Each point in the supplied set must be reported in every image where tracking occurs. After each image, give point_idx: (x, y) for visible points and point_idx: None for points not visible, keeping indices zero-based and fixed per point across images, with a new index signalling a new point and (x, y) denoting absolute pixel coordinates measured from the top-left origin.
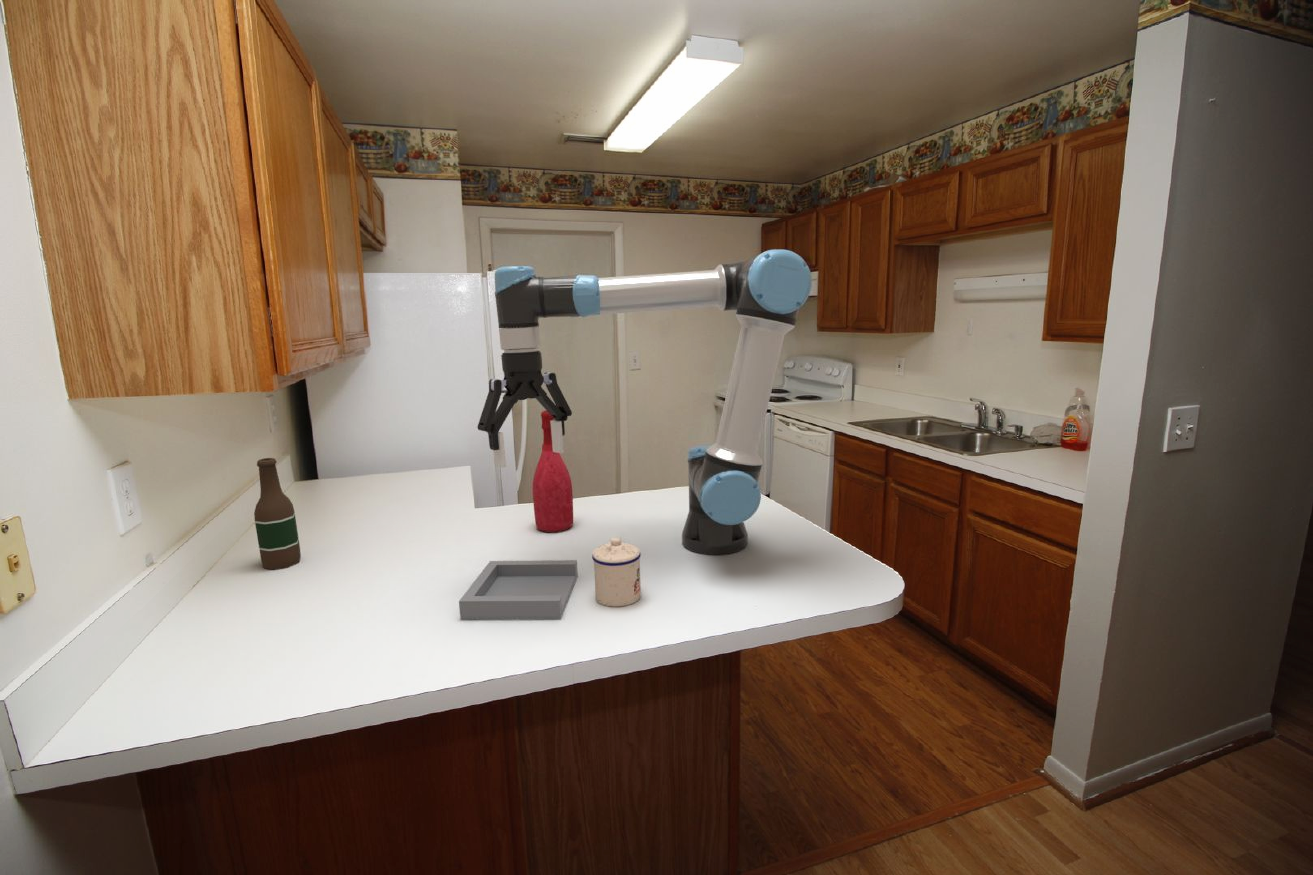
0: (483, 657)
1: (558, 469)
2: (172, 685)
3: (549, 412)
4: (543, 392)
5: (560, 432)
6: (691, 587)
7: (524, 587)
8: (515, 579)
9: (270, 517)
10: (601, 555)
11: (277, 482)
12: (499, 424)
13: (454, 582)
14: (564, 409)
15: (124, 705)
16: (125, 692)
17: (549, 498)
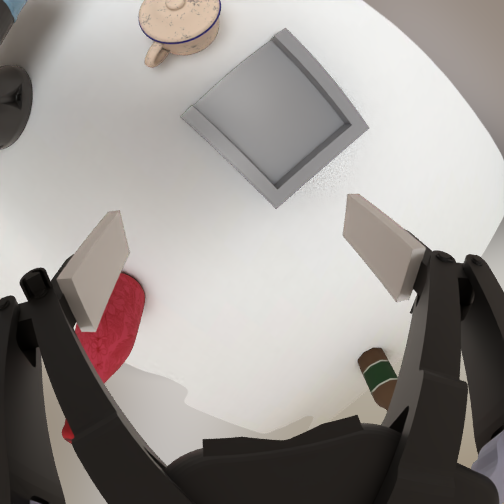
0: (378, 45)
1: (89, 339)
2: (485, 211)
3: (87, 357)
4: (104, 466)
5: (85, 248)
6: (106, 3)
7: (269, 125)
8: (263, 157)
9: (396, 382)
10: (211, 4)
11: None
12: (444, 272)
13: (311, 219)
14: (12, 324)
15: (497, 208)
16: (492, 223)
17: (120, 308)
